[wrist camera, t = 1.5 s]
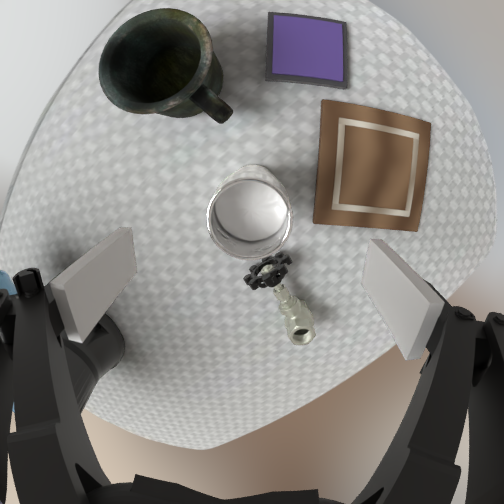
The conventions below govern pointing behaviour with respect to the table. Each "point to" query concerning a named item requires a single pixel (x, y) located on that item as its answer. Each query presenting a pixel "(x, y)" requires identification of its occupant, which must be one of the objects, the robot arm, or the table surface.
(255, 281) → the valve
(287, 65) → the ink pad
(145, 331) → the table surface
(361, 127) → the board
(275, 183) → the beer glass
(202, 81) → the mug
